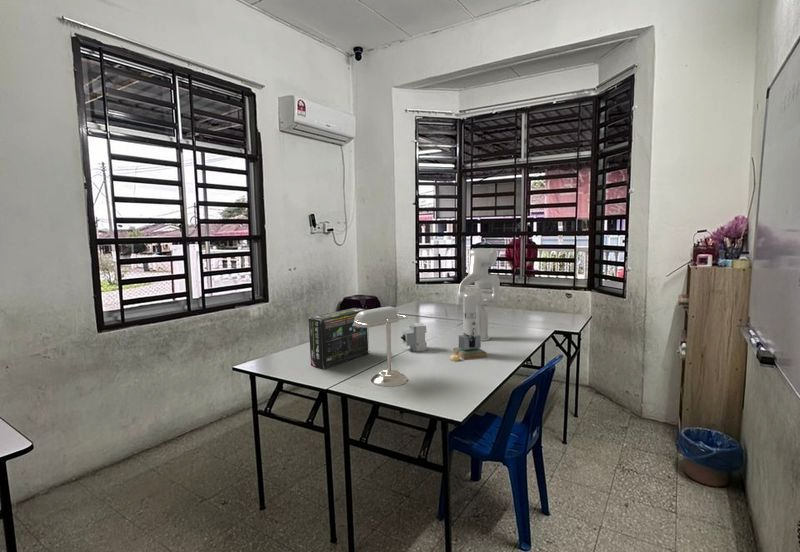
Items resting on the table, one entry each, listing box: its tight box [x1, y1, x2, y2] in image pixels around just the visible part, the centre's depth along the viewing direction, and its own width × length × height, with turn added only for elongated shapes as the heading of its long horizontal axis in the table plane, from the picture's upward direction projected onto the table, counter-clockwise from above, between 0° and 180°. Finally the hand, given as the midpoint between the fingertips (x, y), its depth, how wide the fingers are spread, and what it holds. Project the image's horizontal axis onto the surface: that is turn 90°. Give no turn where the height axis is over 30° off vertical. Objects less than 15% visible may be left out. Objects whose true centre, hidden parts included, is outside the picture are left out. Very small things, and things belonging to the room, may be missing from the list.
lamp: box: [353, 306, 409, 387], centre depth 202 cm, size 26×24×34 cm
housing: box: [458, 334, 482, 350], centre depth 239 cm, size 11×6×7 cm, turn 113°
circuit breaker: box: [400, 322, 428, 352], centre depth 251 cm, size 8×14×15 cm, turn 108°
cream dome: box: [449, 354, 460, 362], centre depth 230 cm, size 5×5×2 cm
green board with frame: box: [452, 346, 487, 360], centre depth 240 cm, size 14×14×3 cm
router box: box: [307, 307, 370, 370], centre depth 233 cm, size 36×11×27 cm, turn 141°
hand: (469, 345), depth 239 cm, fingers closed on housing, 6 cm apart
